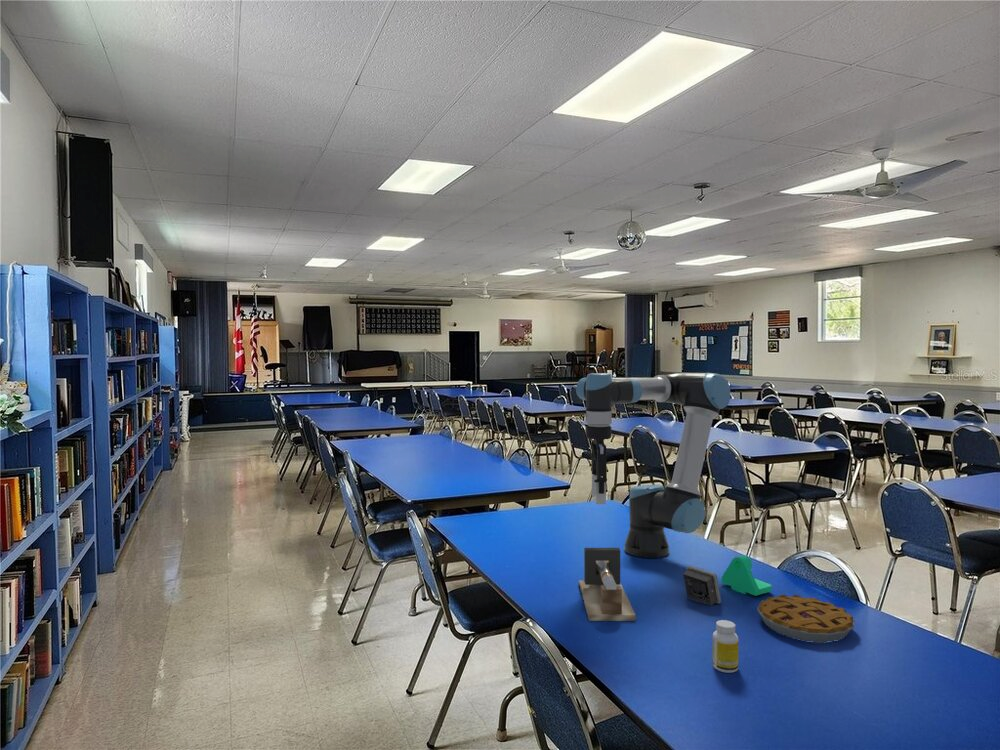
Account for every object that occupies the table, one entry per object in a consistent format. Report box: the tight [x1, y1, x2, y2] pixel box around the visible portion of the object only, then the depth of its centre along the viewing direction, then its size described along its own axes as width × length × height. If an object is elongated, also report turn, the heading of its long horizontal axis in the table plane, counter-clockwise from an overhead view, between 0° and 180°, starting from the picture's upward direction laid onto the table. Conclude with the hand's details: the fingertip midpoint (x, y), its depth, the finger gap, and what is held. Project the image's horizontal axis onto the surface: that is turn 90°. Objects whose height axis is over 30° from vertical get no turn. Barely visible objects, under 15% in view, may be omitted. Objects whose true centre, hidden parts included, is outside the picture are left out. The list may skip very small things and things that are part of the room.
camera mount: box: [720, 554, 773, 596], centre depth 183 cm, size 12×8×10 cm, turn 29°
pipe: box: [596, 561, 618, 595], centre depth 175 cm, size 3×24×3 cm, turn 179°
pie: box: [756, 594, 856, 642], centre depth 159 cm, size 22×22×5 cm
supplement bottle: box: [712, 619, 740, 674], centre depth 138 cm, size 5×5×10 cm
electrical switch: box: [682, 564, 722, 607], centre depth 175 cm, size 9×5×9 cm, turn 38°
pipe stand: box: [578, 561, 637, 622], centre depth 175 cm, size 12×25×8 cm, turn 179°
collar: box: [583, 547, 621, 585], centre depth 181 cm, size 10×2×10 cm, turn 89°
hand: (598, 500), depth 187 cm, fingers open, 9 cm apart
